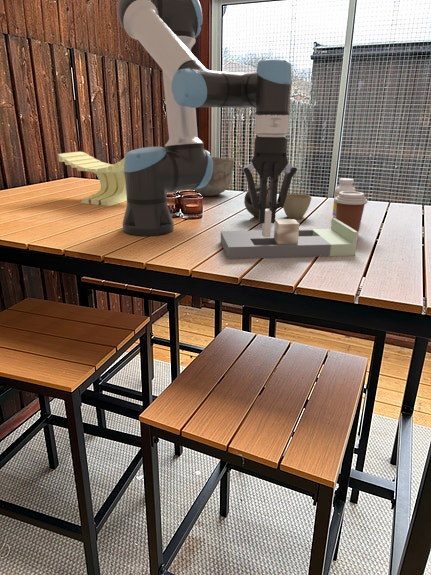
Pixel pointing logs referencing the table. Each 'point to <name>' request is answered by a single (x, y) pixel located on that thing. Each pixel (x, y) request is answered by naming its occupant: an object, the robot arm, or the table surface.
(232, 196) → the table surface
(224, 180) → the bowl
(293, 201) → the flower pot
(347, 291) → the table surface
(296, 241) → the cream block
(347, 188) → the supplement bottle
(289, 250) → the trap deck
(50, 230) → the table surface
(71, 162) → the slatted curved stool
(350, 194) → the coffee cup
